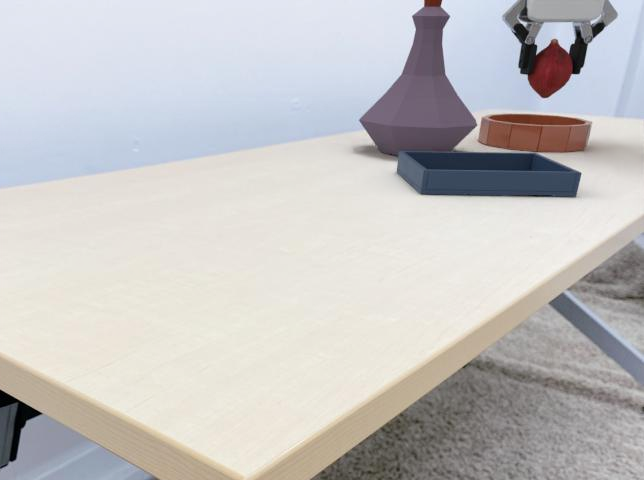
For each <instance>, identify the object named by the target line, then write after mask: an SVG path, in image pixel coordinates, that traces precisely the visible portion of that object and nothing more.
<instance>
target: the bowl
mask: <svg viewBox="0 0 644 480" xmlns="http://www.w3.org/2000/svg"><path fill="white" fill-rule="evenodd" d="M592 127H593V121H590V120H587V119H585V118H584V119H583V118H580V117H572V116H566V115H565V116H564V115H555V114H540V113H495V114H486V115H484V116H482V117H481V119H480V126H479V131H478V132H479V133H478V139H477V141H478V142H479V143H482V144H483V145H485V146H490V147H495V148H501V149H505V150H514V151H527V152H535V153H539V152H541V153H567V152H578V151H585V150H586V148H587V147H588V145H589V141H590V135H591V132H592Z"/></svg>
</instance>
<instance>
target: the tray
mask: <svg viewBox="0 0 644 480" xmlns="http://www.w3.org/2000/svg"><path fill="white" fill-rule="evenodd" d="M396 173H397V175H399V176H400V177H401V178H402V179H403V180H404V181H405V182H407V183H408V184H409V186H411V187H412V188H413V189H414V190H415V191H417V192H418V193H419V194H420V195H441V196H442V195H446V196H449V195H450V196H455V195H456V196H501V195H555V196H554V197H561V196H573V197H572V198H576V197H577V195H578V190H579V187H580V182H581V177H582V172H580V171H578V170H576V169H574V168H572V167H570V166H567V165H565V164H563V163H560V162H559V161H555V160H553V159H551V158H549V157H547V156H544V155H542V154H539V153H538V152H501V151H499V152H496V151H495V152H494V151H492V152H491V151H450V152H432V151H399V155H398V156H397V163H396ZM468 194H469V195H468ZM574 196H575V197H574Z"/></svg>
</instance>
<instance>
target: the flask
mask: <svg viewBox="0 0 644 480" xmlns="http://www.w3.org/2000/svg"><path fill="white" fill-rule="evenodd" d="M442 3H443V0H423V7H422V8H420V9H419V10H417V12H415V13H414V14H412V15H411V18H412V21H413V25H414V28H415V32H414V36H413V41H412V45H411V47H410V50H409V53H408V55H407V57H406V61H405V64H404V67H403V69H402V71H401V74H400V75H399V76H398V77H397V79H396V80H395V81H394V82H393V83H392V84H391V86H390V87H389V88H388V89H387V91H386V92H385V93H384V94H382V96H381V97H380V98H379V99H378V100H376V102H375V103H374V104H373V105H372V106H371V107H370V108H369V109H367V111H365V113H364V114H363V115H362V116H361V117H360V118H359V119H358V121H359V123H360V124H361V126H362V127H363V129H364V130H365V131H366V133H367V134H368V136H369V137H370V140H372V142H373V143H374V145H375V146H376V148H377V149H378V150H379V152H380V153H382V152H383V154H387V155H391V154H392V155H391V156H395V155H396V156H395V157H398V155H399V151H432V152H453V150H454V149H455V148H456V147H457V146H458V145H459V144H460V143H461V142H462V141H463V140H464V139H465V138H466V137H467V136H469V134H470V133H472V132H473V130H475V129H476V128H477V126H478V123H477V120H476V118H475V116H474V115H473V114H472V112H471V111H470V109H469V108H468V107H467V106H466V104H465V102H464V101H463V100H462V99H461V97H460V96H459V95H458V93H457V91H456V90H455V88H454V86H453V84H452V82H450V80H449V77H448V76H447V75H446V66H445V65H446V64H445V57H444V48H443V39H444V38H443V35H444V29H445V27H446V25H447V23H448V21H449V19H450V18H451V15H450V14H449V13H448V12H447V11H446V10H445V9H444V8H442Z"/></svg>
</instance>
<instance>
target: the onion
mask: <svg viewBox="0 0 644 480" xmlns="http://www.w3.org/2000/svg"><path fill="white" fill-rule="evenodd" d="M572 70H573V64H572V60H571V57H570V55H569V51H568V50H566V49H565V48H564V47H562V46H561V44H560V43H559V40H558V39H557V38H552V39H550V42H549V44H548V45H547V46H546V47H544V48H543V49H542V50H540V51H539V52H538V53H536V59H535V65H534V71H533V74H531V75H527V82H528V84H529V86H530V87H531V88H532V90H533V91H534V92H535V93H536V94H537V95H538V96H539V97H540V98H541V99H548V98H550V97H551V96H552V95H554V94H555V93H557V92H559V91H560V90H561V89H562V88H563V87H565V86H566V85H567V83H568V82H569V81H570V79H571V76H572V75H573V74H572Z"/></svg>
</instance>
